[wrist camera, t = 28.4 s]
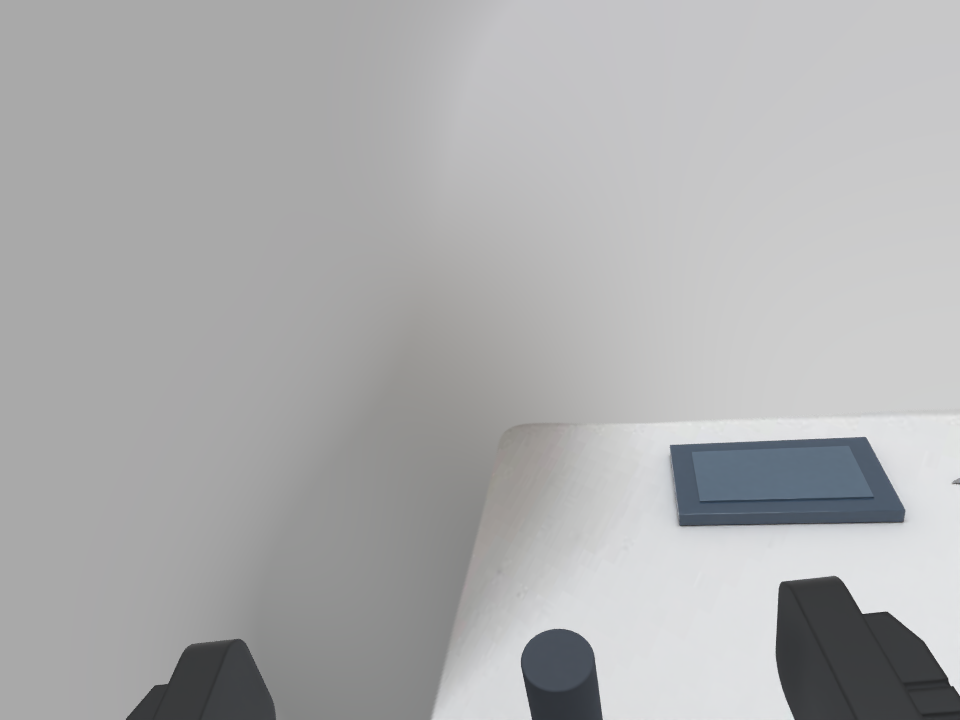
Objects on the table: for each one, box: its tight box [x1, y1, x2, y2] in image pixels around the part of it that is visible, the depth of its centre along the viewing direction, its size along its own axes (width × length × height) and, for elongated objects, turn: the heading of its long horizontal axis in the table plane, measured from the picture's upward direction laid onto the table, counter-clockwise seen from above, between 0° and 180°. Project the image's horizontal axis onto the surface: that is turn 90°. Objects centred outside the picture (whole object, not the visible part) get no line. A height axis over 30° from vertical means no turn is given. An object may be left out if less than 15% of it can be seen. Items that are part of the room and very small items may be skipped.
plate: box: [670, 437, 905, 525], centre depth 50 cm, size 14×8×1 cm, turn 81°
